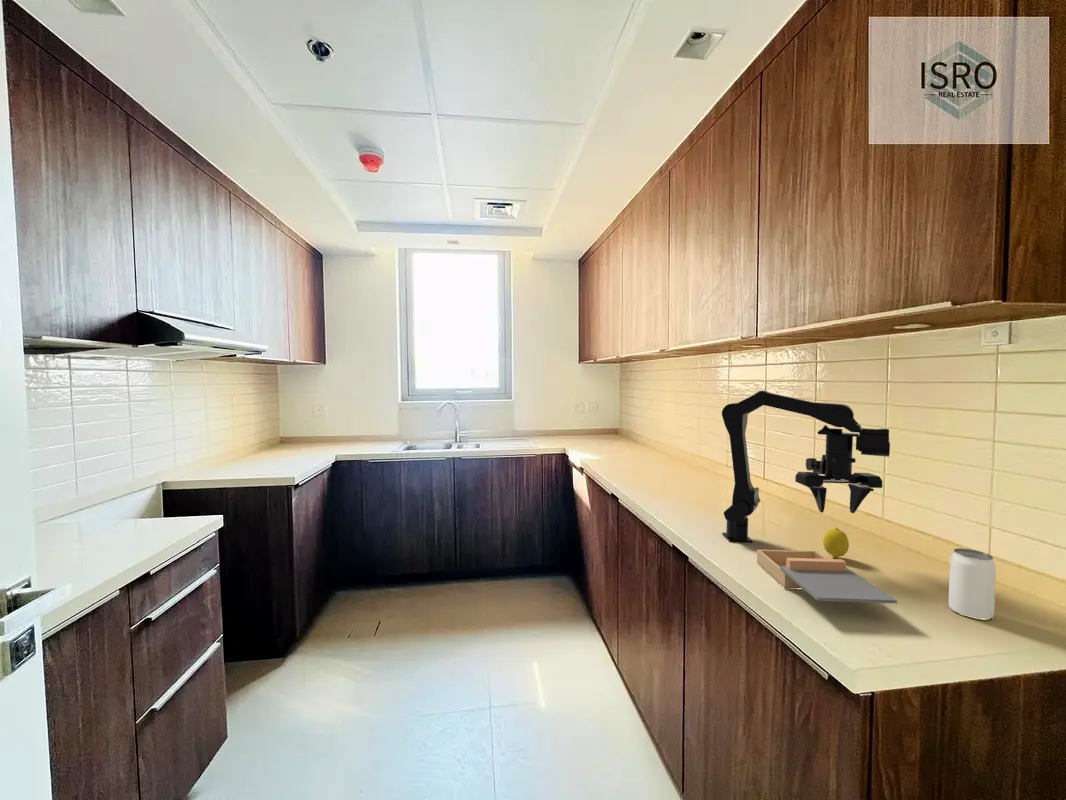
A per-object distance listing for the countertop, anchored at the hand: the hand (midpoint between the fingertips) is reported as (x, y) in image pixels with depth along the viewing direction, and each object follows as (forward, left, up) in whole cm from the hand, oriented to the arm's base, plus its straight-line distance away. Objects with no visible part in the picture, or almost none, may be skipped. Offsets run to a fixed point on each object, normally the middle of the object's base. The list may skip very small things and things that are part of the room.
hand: (836, 512), depth 116 cm
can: (+27, +10, -12) cm, 31 cm away
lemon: (0, 0, -12) cm, 12 cm away
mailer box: (+12, -15, -12) cm, 23 cm away
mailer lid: (+25, -15, -8) cm, 30 cm away
